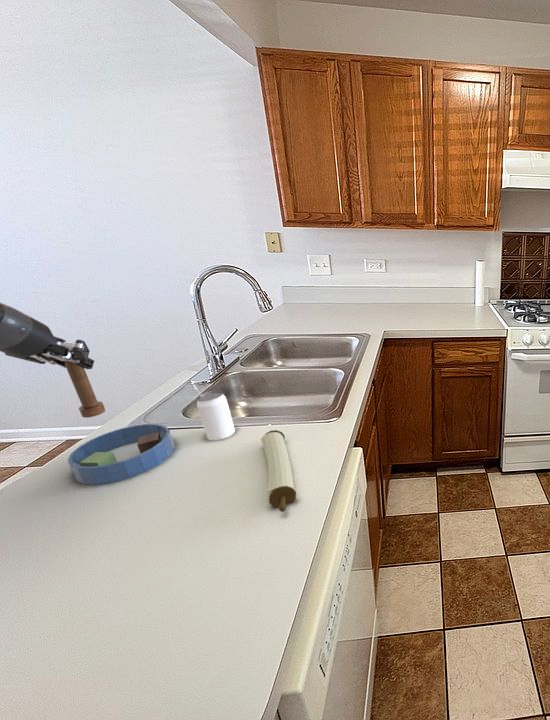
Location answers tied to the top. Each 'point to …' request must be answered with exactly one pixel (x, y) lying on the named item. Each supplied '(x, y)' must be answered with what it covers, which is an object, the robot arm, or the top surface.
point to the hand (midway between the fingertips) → (82, 365)
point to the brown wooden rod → (84, 390)
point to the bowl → (124, 467)
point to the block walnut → (148, 441)
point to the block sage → (99, 459)
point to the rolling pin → (278, 470)
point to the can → (215, 415)
